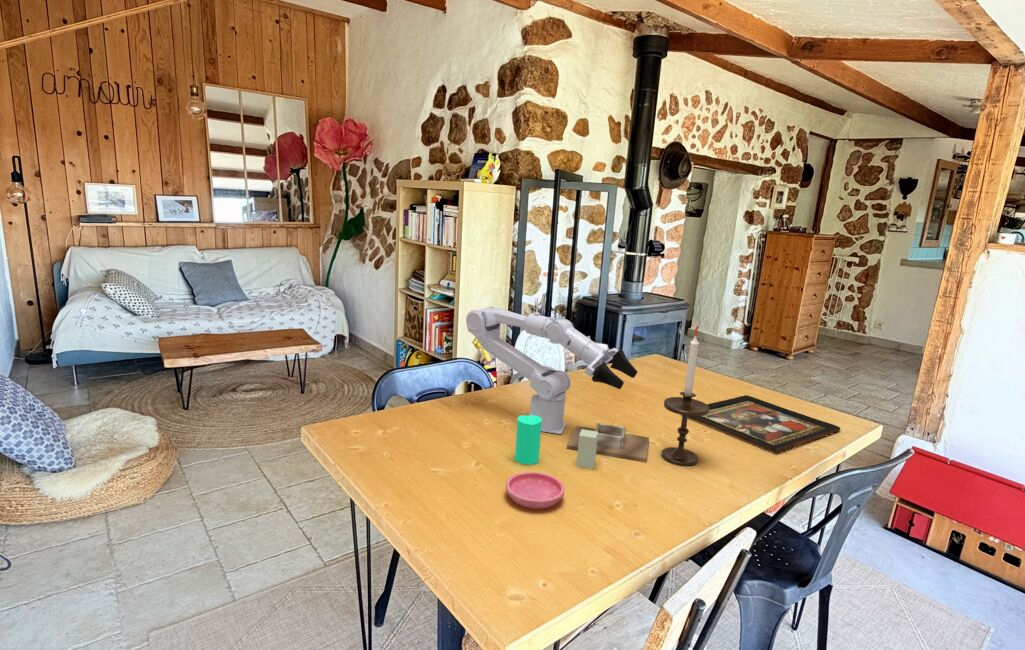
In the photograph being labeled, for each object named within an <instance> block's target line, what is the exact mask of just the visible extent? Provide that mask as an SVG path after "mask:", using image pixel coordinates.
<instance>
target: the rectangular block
mask: <svg viewBox="0 0 1025 650" xmlns="http://www.w3.org/2000/svg"><path fill="white" fill-rule="evenodd" d="M597 439H598V432H596V431H590V430H583V429H582V430H581V432H580V434H579V442H578V451H577V455H576V466H578V468H582V469H589V470H594V467H595V465H596V457H597V454H596V449H597Z"/></svg>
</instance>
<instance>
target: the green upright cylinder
mask: <svg viewBox="0 0 1025 650" xmlns="http://www.w3.org/2000/svg"><path fill="white" fill-rule="evenodd" d="M516 421H517V422H516V434H515V435H516V436H515V437H516V438H515V450H514V451H515V453H514V461H516V463H518V462H519V463H518V464H520V463H521V465H523V464H528V465H527V466H531V464H533V465H536V464H538V463H539V462H540V461H539V460H540V450H541V449H540V447H541V435H542V431H541V423H542V419H541V418H540V417H539V416H535V415H529V414H528V415H522V414H521V415H519V416H518V417H517V420H516ZM537 462H538V463H537ZM535 463H536V464H535Z"/></svg>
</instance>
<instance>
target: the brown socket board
mask: <svg viewBox="0 0 1025 650" xmlns="http://www.w3.org/2000/svg"><path fill="white" fill-rule="evenodd" d="M582 429H583V430H590V431H596V432H598V439H597V449H596V455H601V456H608V457H613V458H618V459H624V460H631V461H636V462H642V463H647V459H648V451H649V442H650V441H649V440H650V437H649V436H643V435H637V434H632V433H631V434H630V433H626V431H627V427H625V426H619V425H612V424H605V423H601V422H598V423H596V427H595V428H594V427H593V428H592V427H588V426H586V427H585V426H580V425H576V426H575V427H574V429H573V431H572V433H571V435H570V437H569V440H568V442H567V444H566V449H567V450H571V451H572V450H573V451H577V452H578V442H579V434H580V432H581V430H582Z"/></svg>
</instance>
